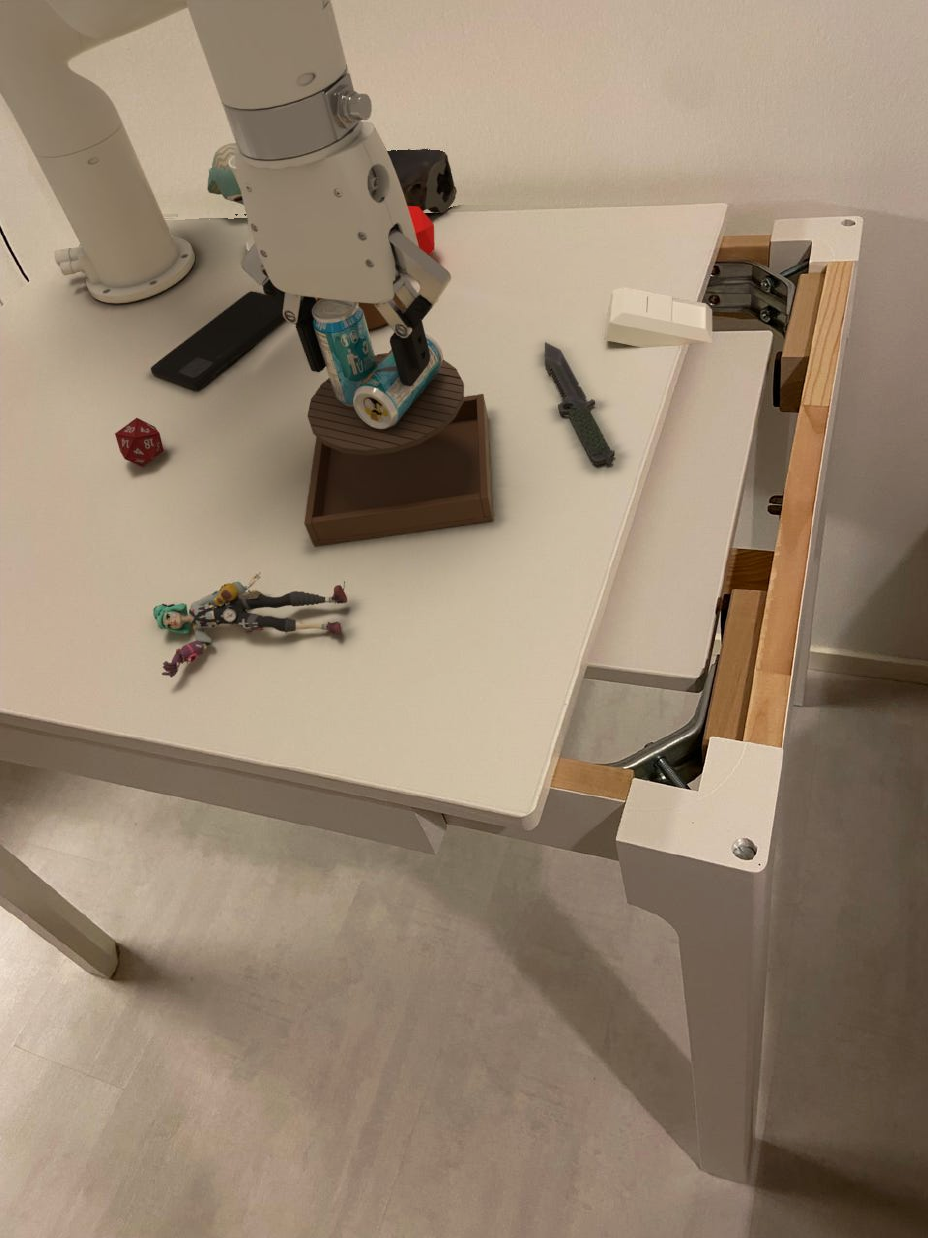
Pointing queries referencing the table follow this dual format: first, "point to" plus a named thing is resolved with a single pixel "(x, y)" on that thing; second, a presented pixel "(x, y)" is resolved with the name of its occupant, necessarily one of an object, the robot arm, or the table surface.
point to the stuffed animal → (224, 175)
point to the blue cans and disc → (375, 389)
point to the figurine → (235, 616)
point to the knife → (577, 407)
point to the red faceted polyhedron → (422, 229)
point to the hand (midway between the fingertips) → (370, 365)
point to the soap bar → (656, 319)
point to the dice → (139, 442)
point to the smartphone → (220, 341)
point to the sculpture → (424, 178)
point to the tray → (404, 484)
